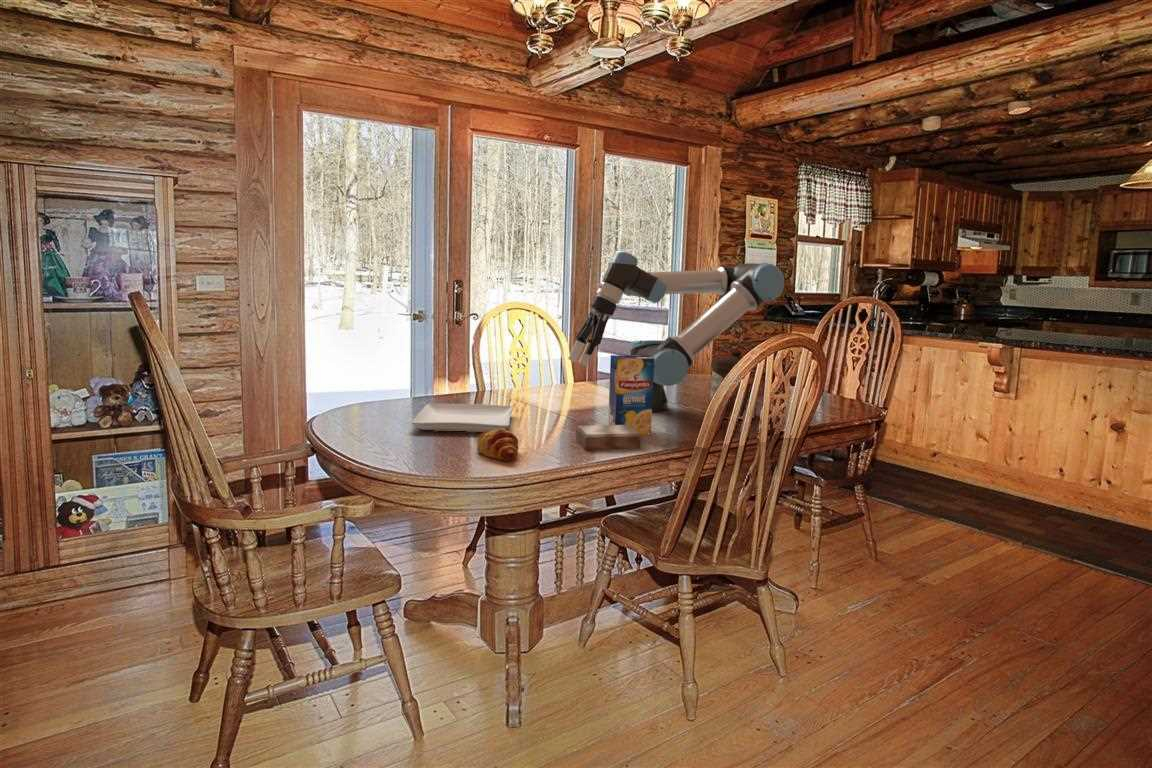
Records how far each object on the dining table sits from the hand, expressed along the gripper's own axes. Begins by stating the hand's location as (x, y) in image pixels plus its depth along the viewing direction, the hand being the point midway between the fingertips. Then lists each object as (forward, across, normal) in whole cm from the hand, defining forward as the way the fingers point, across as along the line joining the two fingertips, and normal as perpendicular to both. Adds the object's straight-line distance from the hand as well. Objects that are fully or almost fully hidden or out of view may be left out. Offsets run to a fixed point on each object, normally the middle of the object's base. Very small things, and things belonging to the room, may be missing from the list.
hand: (577, 362), depth 220 cm
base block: (+17, +30, +9) cm, 36 cm away
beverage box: (+12, +17, +18) cm, 28 cm away
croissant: (+31, +35, -18) cm, 50 cm away
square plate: (+31, +1, -23) cm, 39 cm away
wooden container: (-6, -1, +56) cm, 56 cm away
